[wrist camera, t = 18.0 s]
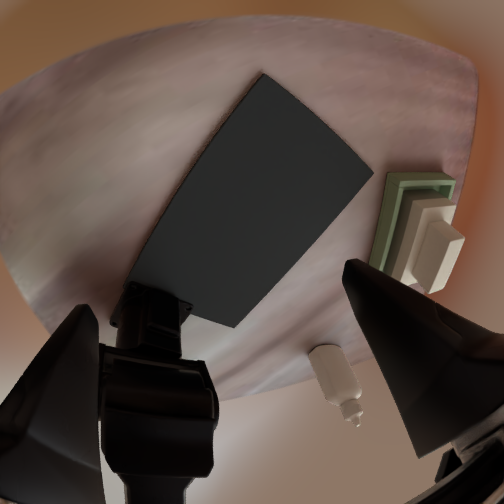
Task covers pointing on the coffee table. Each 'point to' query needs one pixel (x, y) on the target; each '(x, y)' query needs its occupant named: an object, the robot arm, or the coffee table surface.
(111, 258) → the coffee table surface
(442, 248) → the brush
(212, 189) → the mat
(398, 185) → the tray
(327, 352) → the eye dropper bottle
